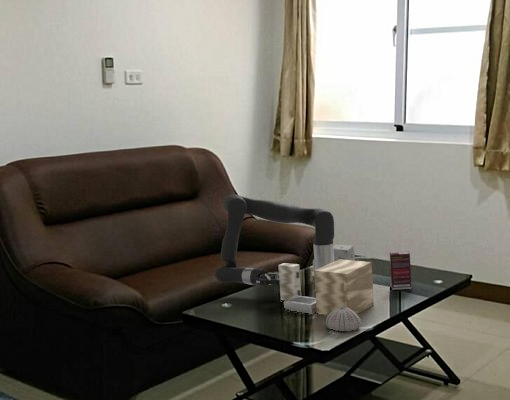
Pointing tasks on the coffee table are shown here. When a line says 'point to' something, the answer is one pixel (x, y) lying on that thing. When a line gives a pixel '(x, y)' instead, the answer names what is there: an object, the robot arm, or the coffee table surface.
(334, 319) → the sea urchin shell
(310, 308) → the grey rectangular tray
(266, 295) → the coffee table surface
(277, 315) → the coffee table surface
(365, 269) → the patterned beige box
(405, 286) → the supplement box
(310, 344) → the coffee table surface
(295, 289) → the beige upright rectangular block
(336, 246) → the incense holder
